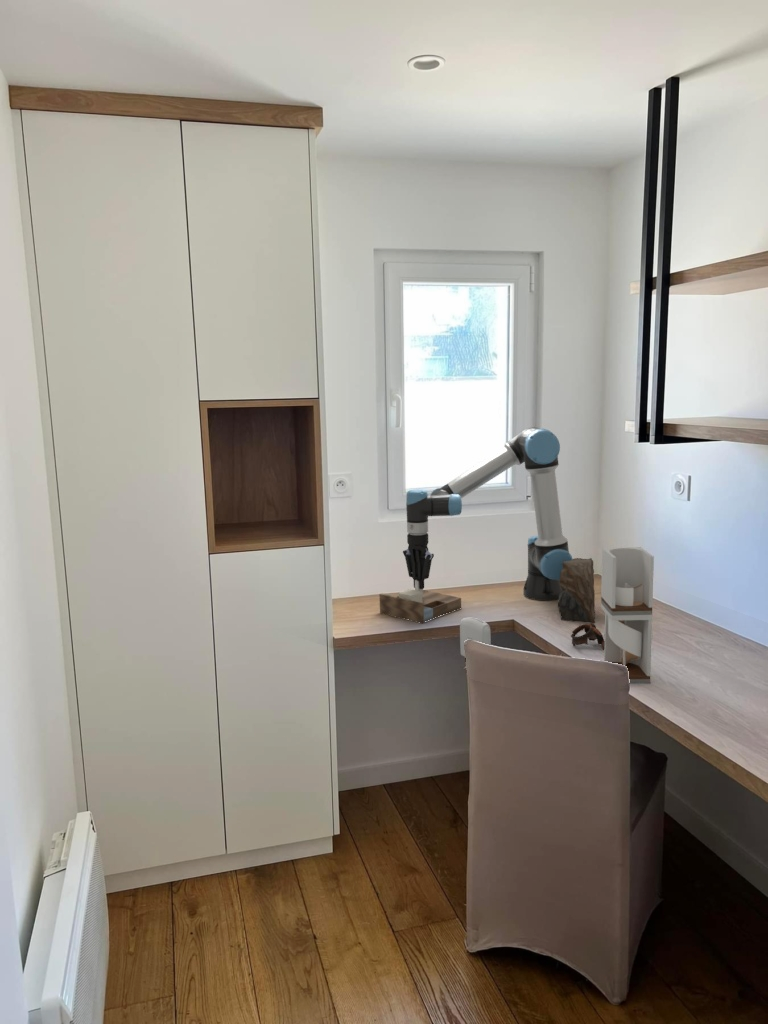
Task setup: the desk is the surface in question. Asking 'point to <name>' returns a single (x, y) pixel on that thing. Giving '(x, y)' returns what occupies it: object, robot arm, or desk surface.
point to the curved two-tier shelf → (628, 609)
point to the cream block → (411, 595)
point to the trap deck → (419, 606)
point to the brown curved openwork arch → (587, 635)
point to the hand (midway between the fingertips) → (419, 596)
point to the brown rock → (577, 591)
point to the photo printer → (474, 632)
